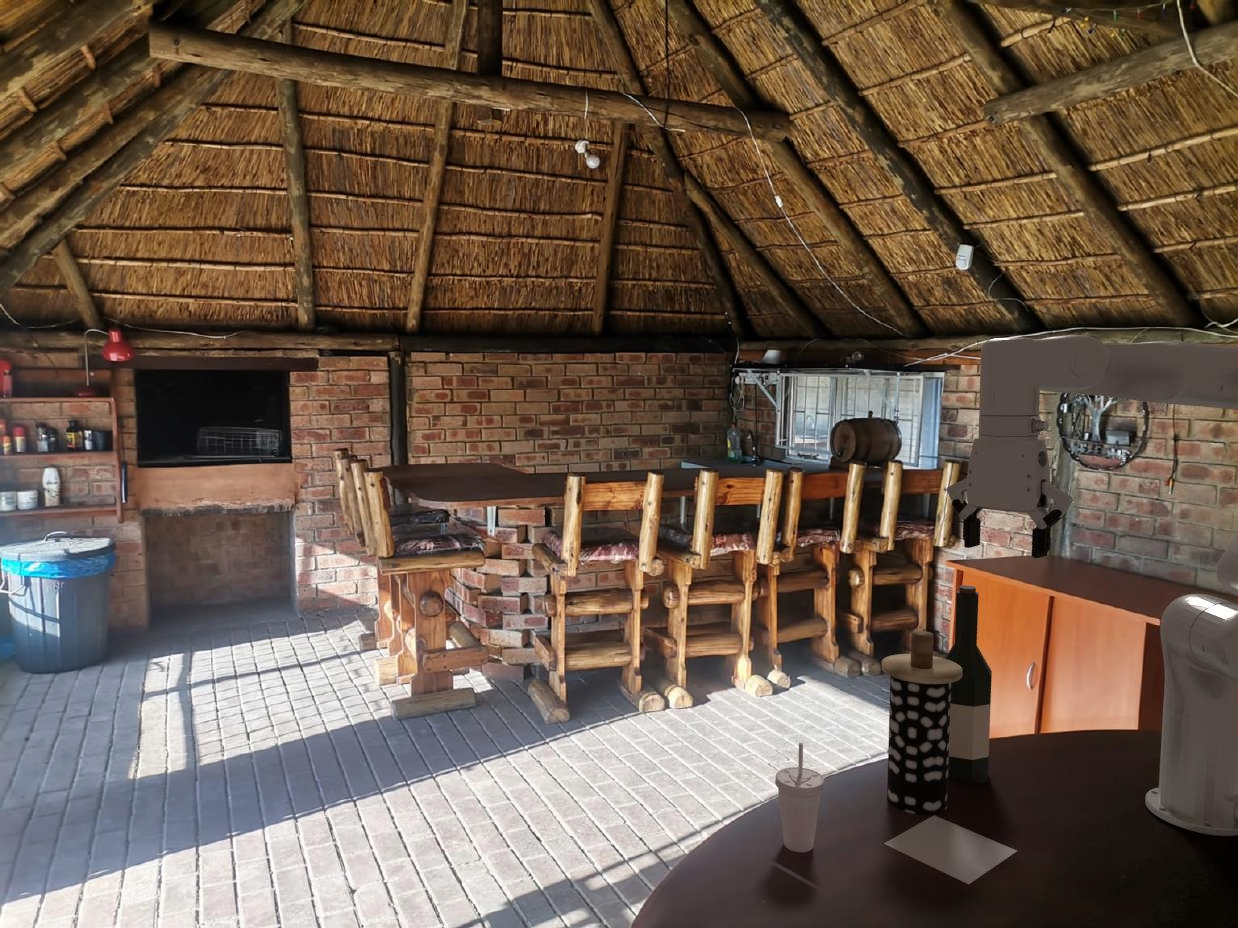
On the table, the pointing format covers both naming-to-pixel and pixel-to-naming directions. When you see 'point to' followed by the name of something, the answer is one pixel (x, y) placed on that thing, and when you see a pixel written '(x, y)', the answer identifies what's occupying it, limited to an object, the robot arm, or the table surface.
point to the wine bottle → (969, 696)
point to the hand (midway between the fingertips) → (1004, 551)
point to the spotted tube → (918, 746)
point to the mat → (951, 849)
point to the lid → (922, 663)
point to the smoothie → (799, 804)
